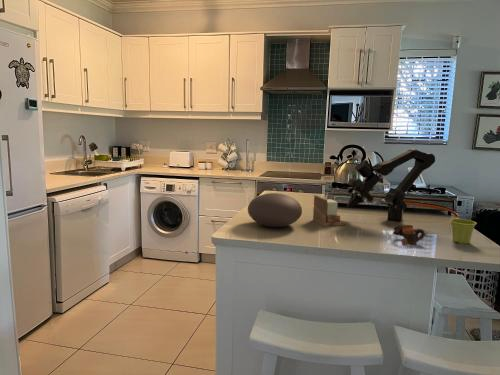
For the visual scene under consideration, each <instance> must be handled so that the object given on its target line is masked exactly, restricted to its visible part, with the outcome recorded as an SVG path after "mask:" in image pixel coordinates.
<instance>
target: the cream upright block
mask: <svg viewBox="0 0 500 375" xmlns="http://www.w3.org/2000/svg"><path fill="white" fill-rule="evenodd" d="M326 199H327V198H326ZM327 215H338V201H336V200H333V199H331V198H330V199H327V212H326V221H327Z"/></svg>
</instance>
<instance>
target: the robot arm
mask: <svg viewBox="0 0 500 375" xmlns="http://www.w3.org/2000/svg"><path fill="white" fill-rule="evenodd" d="M412 159H413V160H414V166H412V168H411V169H410V171H408V173H407V175H405V176H404V178H403V179H402V180H401V182H400V183H399V184H398V186H397V187H390V189H389V190H388V191H387V192H386V193H385V194H386V195H385V197H384V198H385V202H386V205H387V206H388V207H389V209H388V210H387V220H388V221H395V222H402V221H403V220H404V210H406V209H407V207H408V205H407V204H406V202H405V198H406V193H407V192H408V190H409V189H410V188H411V187H412V186H413V184H414V182H416V180H418V178H419V177H420V175H421V174H422V173H423V172H424V171H425V170H427V169H429V168H430V167H432V165H434V164H435V162H436V156H435V155H434V154H433V153H430V152H429V153H428V152H424V151H422V150H421V151H420V150H418V149H416V148H410V149H408V150H406V151H405V152H402V153H401V154H399V155H397V156H395V157H393V158H391V159H389V160H385V161H380V162H377V163H375V165H371V164H370V163H369V160H367V159H363V161H361V162H359V163H357V164H356V166H355V167H354V169H355V171H356V172H357V173H358V174H359V175H360V176H361V178H365V179H363V180H362V179H361V178H356V179H354V178H349V179H348V182H347V185H348V186H349V187H348V186H347V188H346V190H345V191H346V192H347V193H348V194H349V196H350V198H349V200H348V202H347V205H346V207H347V208H348V209H351V208H352V207H354V206H357V205H359V204H362V203H364V202H365V201H364V200H366V201H367V202H368V203H369V204H370V203H372V202H373V200H374V196H373V195H371V193H370V192H373V191H374V188H375V186H376V185H377V184H378V183H380V184H384V177H386V176H388V175H389V174H391V173H392V172H393V171H394V170H395V169H396V168H397V167H399V166H401V165H404V164H405V163H407V162H409V161H411V160H412ZM381 176H383V177H381Z"/></svg>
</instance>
